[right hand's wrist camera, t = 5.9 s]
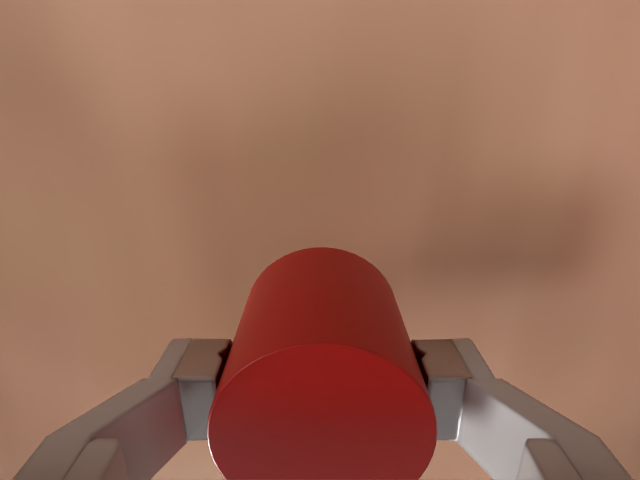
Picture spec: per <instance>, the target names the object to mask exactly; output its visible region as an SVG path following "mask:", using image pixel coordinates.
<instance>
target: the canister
mask: <svg viewBox="0 0 640 480" xmlns="http://www.w3.org/2000/svg"><path fill="white" fill-rule="evenodd" d="M207 439H208V445H209V449H210V452H211V455H212V458H213V460H214V462H215V464H216V466H217V468H218V470H219V471H220V472H221V474H222V475H223V477H224V478H225V479H226V480H418V479H419V478H420V477H421V476H422V474H423V473H424V471H425V470H426V468H427V467H428V465H429V462H430V460H431V458H432V456H433V453H434V449H435V446H436V440H437V419H436V415H435V411H434V407H433V404H432V401H431V399H430V396H429V393H428V390H427V387H426V384H425V382H424V379H423V376H422V373H421V370H420V367H419V365H418V362H417V359H416V356H415V353H414V351H413V348H412V345H411V342H410V339H409V336H408V334H407V331H406V328H405V325H404V322H403V319H402V317H401V314H400V311H399V308H398V305H397V303H396V300H395V297H394V294H393V292H392V289H391V287H390V285H389V283H388V282H387V280H386V279H385V277H384V276H383V275H382V274H381V272H380V271H379V270H378V269H377V268H375V267H374V266H373V265H372V264H371V263H369V262H368V261H366V260H365V259H363V258H361V257H359V256H357V255H356V254H353V253H350V252H347V251H344V250H340V249H335V248H309V249H303V250H299V251H296V252H293V253H290V254H288V255H285V256H284V257H282V258H280V259H278V260H276V261H275V262H274V263H272V264H271V265H270V266H268V267H267V268H266V269H265V270H264V271H263V272H262V274H261V275H260V276H259V277H258V279H257V280H256V282H255V284H254V285H253V287H252V289H251V292H250V295H249V297H248V300H247V303H246V306H245V309H244V312H243V315H242V318H241V321H240V324H239V326H238V329H237V332H236V335H235V338H234V341H233V344H232V347H231V350H230V353H229V356H228V358H227V361H226V364H225V367H224V370H223V373H222V376H221V379H220V382H219V385H218V388H217V391H216V393H215V396H214V399H213V402H212V405H211V408H210V411H209V416H208V421H207Z"/></svg>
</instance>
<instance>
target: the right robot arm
mask: <svg viewBox="0 0 640 480" xmlns="http://www.w3.org/2000/svg"><path fill="white" fill-rule="evenodd" d="M232 344H233V343H232V341H231V339H173V340H171V341H170V343H169V345H168V346H167V348H166V350H165V351H164V353H163V355H162V356H161V358H160V360H159V361H158V363H157V365H156V366H155V368H154V370H153V371H152V373H151V375H150V376H149V378H148V379H141V380H139V381H138V382H136V383H134V384H133V385H131V386H130V387H128V388H126V389H125V390H123V391H121V392H120V393H118V394H116V395H115V396H113V397H111V398H110V399H108V400H106V401H105V402H103V403H101V404H100V405H98V406H96V407H95V408H93V409H91V410H90V411H88V412H86V413H85V414H83V415H81V416H80V417H78V418H76V419H75V420H73V421H71V422H70V423H68V424H66V425H65V426H63V427H61V428H60V429H58V430H56V431H55V432H53V433H51V434H50V435H48V436H46V438H45V439H44V440H43V441H42V443H41V444H40V445H39V447H38V448H37V449H36V450H35V452H34V453H33V454H32V455H31V457H30V458H29V459H28V460H27V462H26V463H25V464H24V465H23V467H22V468H21V469H20V471H19V472H18V473H17V474H16V476H15V477H14V478H13V479H12V480H150V479H151V478H152V477H153V476H154V475H155V474H156V473H157V472H158V471H159V470H160V469H161V468H162V467H163V466H164V465H165V464H166V463H167V462H168V461H169V460H170V459H171V458H172V457H173V456H174V455H175V454H176V453H177V452H178V451H179V450H180V449H181V448H182V447H183V446H184V445H185V444H186V443H187V441H190V440H208V439H207V421H208V416H209V411H210V408H211V405H212V402H213V399H214V396H215V393H216V391H217V388H218V385H219V382H220V379H221V376H222V373H223V370H224V367H225V364H226V361H227V358H228V356H229V353H230V350H231V347H232ZM411 345H412V348H413V351H414V353H415V356H416V359H417V362H418V365H419V367H420V370H421V373H422V376H423V379H424V382H425V384H426V387H427V390H428V393H429V396H430V399H431V401H432V404H433V407H434V411H435V415H436V419H437V440H453V441H457V443H458V444H459V445H460V446H461V447H462V448H463V449H464V450H465V451H466V452H467V453H468V454H469V455H470V456H471V457H472V458H473V459H474V460H475V461H476V462H477V463H478V464H479V465H480V466H481V467H482V468H483V469H484V470H485V471H486V472H487V473H488V474H489V475H490V476H491V477H492V478H493V479H494V480H633V479H632V478H631V476H630V475H629V474H628V473H627V471H626V470H625V469H624V468H623V466H622V465H621V464H620V463H619V461H618V460H617V459H616V458H615V456H614V455H613V454H612V453H611V451H610V450H609V449H608V448H607V446H606V445H605V444H604V443H603V441H602V440H601V439H600V438H599V437H598V436H596V435H595V434H593V433H591V432H590V431H588V430H586V429H585V428H583V427H581V426H580V425H578V424H576V423H575V422H573V421H571V420H570V419H568V418H566V417H565V416H563V415H561V414H560V413H558V412H556V411H555V410H553V409H551V408H550V407H548V406H546V405H545V404H543V403H541V402H540V401H538V400H536V399H535V398H533V397H531V396H530V395H528V394H526V393H525V392H523V391H521V390H520V389H518V388H516V387H515V386H513V385H511V384H509V383H508V382H506V381H504V380H503V379H496V378H495V377H494V375H493V373H492V372H491V370H490V369H489V367H488V365H487V364H486V362H485V361H484V359H483V357H482V356H481V354H480V352H479V351H478V349H477V348H476V346H475V344H474V343H473V341H472V340H471V339H469V338H463V339H440V340H412V341H411Z"/></svg>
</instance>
